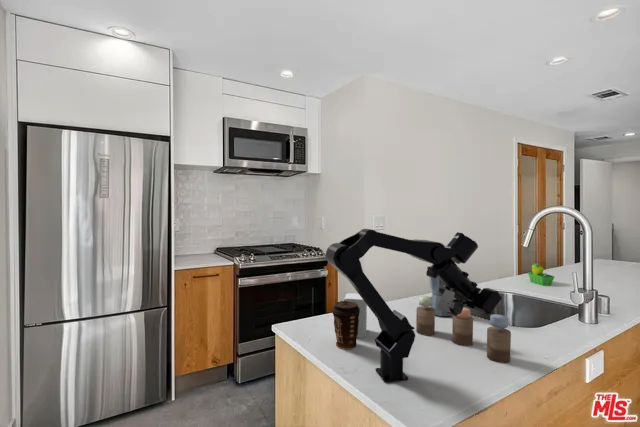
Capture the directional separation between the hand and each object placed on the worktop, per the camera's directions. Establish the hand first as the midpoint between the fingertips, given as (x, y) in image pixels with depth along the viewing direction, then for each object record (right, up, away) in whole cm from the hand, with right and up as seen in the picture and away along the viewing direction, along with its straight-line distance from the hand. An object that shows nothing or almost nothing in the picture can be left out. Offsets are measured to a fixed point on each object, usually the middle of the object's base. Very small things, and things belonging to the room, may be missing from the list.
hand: (484, 312), depth 95 cm
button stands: (-2, -13, +12) cm, 18 cm away
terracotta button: (-1, -5, +13) cm, 14 cm away
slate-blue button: (+5, -4, +1) cm, 6 cm away
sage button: (-10, -3, +21) cm, 23 cm away
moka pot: (+3, -12, +40) cm, 42 cm away
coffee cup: (-38, -13, +10) cm, 42 cm away
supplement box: (-34, -13, +20) cm, 42 cm away
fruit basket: (+74, -11, +91) cm, 118 cm away
